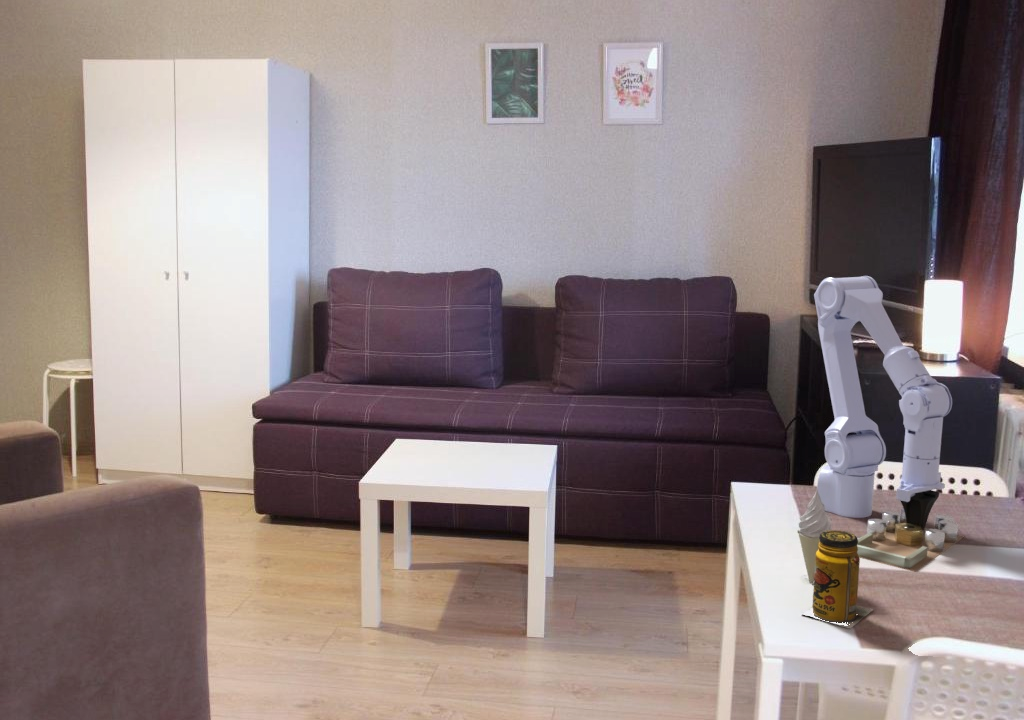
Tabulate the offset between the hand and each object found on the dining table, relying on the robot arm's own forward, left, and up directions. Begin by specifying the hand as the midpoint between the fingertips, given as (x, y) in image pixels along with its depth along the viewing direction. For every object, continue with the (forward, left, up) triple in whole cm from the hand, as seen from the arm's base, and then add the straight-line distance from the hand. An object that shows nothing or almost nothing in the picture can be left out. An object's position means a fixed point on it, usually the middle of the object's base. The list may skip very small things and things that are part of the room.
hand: (915, 532), depth 182 cm
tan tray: (0, -5, -2) cm, 5 cm away
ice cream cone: (-5, -28, -2) cm, 29 cm away
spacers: (0, 0, -1) cm, 1 cm away
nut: (0, -3, -1) cm, 3 cm away
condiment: (+3, -36, -2) cm, 36 cm away
